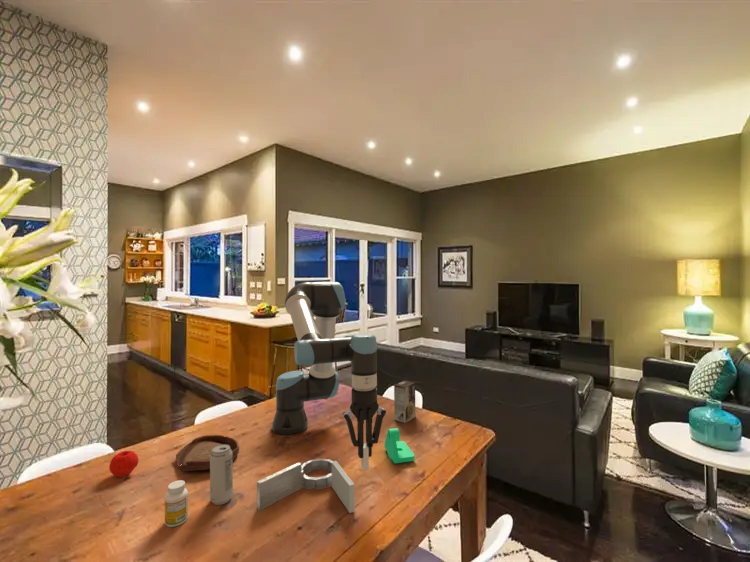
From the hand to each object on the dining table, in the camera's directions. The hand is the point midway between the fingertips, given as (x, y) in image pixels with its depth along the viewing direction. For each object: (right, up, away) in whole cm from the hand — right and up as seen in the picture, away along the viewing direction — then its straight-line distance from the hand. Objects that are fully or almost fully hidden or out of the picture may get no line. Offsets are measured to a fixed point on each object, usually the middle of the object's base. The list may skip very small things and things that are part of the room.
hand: (365, 467), depth 103 cm
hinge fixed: (-20, -9, +5) cm, 23 cm away
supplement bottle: (-50, -9, -9) cm, 52 cm away
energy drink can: (-42, -9, 0) cm, 43 cm away
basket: (-57, -10, +23) cm, 62 cm away
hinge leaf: (-7, -8, -1) cm, 11 cm away
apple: (-80, -9, +13) cm, 81 cm away
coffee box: (+17, -9, +58) cm, 61 cm away
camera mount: (+12, -9, +24) cm, 28 cm away
